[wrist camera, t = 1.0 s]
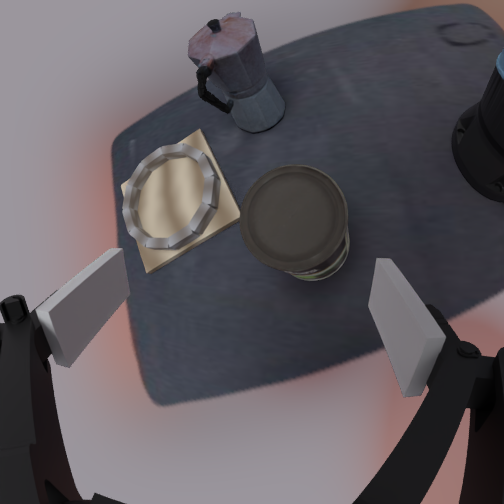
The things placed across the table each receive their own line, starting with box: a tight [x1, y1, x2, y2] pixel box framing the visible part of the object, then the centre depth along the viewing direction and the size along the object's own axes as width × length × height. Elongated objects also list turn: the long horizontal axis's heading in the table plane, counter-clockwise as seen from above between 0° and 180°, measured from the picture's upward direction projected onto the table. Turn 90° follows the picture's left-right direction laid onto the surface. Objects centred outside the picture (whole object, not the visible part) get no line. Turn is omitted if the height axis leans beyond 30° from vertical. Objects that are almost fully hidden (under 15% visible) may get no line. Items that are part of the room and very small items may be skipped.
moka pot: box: [188, 12, 285, 133], centre depth 38 cm, size 10×15×20 cm, turn 168°
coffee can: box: [239, 164, 350, 281], centre depth 35 cm, size 10×10×14 cm
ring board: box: [121, 129, 240, 274], centre depth 48 cm, size 18×18×4 cm
